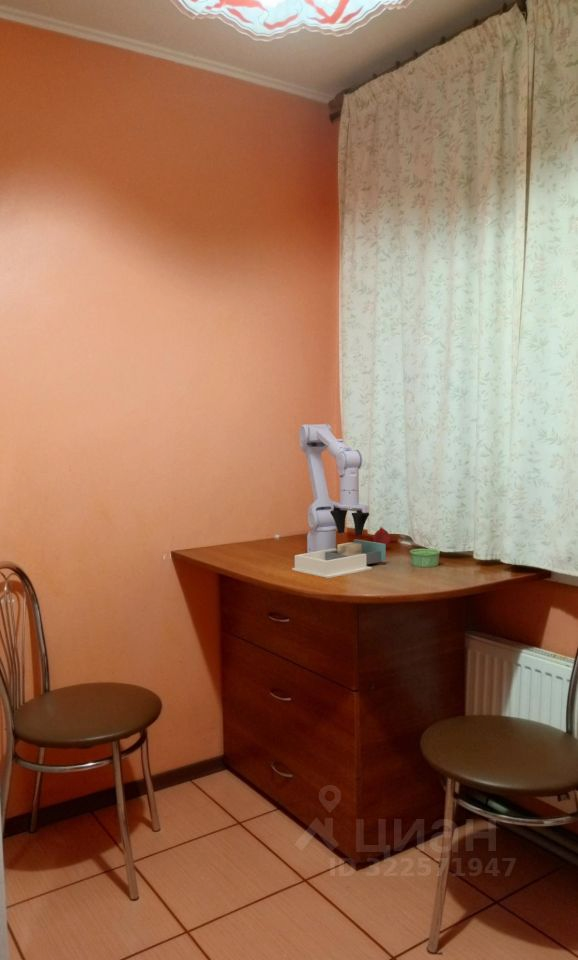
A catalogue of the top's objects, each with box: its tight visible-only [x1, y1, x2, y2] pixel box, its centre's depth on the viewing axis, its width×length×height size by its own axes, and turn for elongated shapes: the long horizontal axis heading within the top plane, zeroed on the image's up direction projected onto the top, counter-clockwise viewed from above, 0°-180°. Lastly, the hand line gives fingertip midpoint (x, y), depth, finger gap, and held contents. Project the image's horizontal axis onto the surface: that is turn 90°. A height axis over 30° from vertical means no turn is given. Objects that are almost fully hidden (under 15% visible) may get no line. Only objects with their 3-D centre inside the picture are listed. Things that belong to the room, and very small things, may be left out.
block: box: [336, 541, 362, 556], centre depth 230 cm, size 4×6×5 cm
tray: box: [325, 538, 387, 565], centre depth 231 cm, size 14×13×6 cm
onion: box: [372, 526, 391, 548], centre depth 257 cm, size 6×6×8 cm
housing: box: [291, 548, 373, 579], centre depth 225 cm, size 18×16×5 cm
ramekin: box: [409, 548, 441, 568], centre depth 230 cm, size 9×9×4 cm
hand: (349, 534), depth 230 cm, fingers open, 7 cm apart
